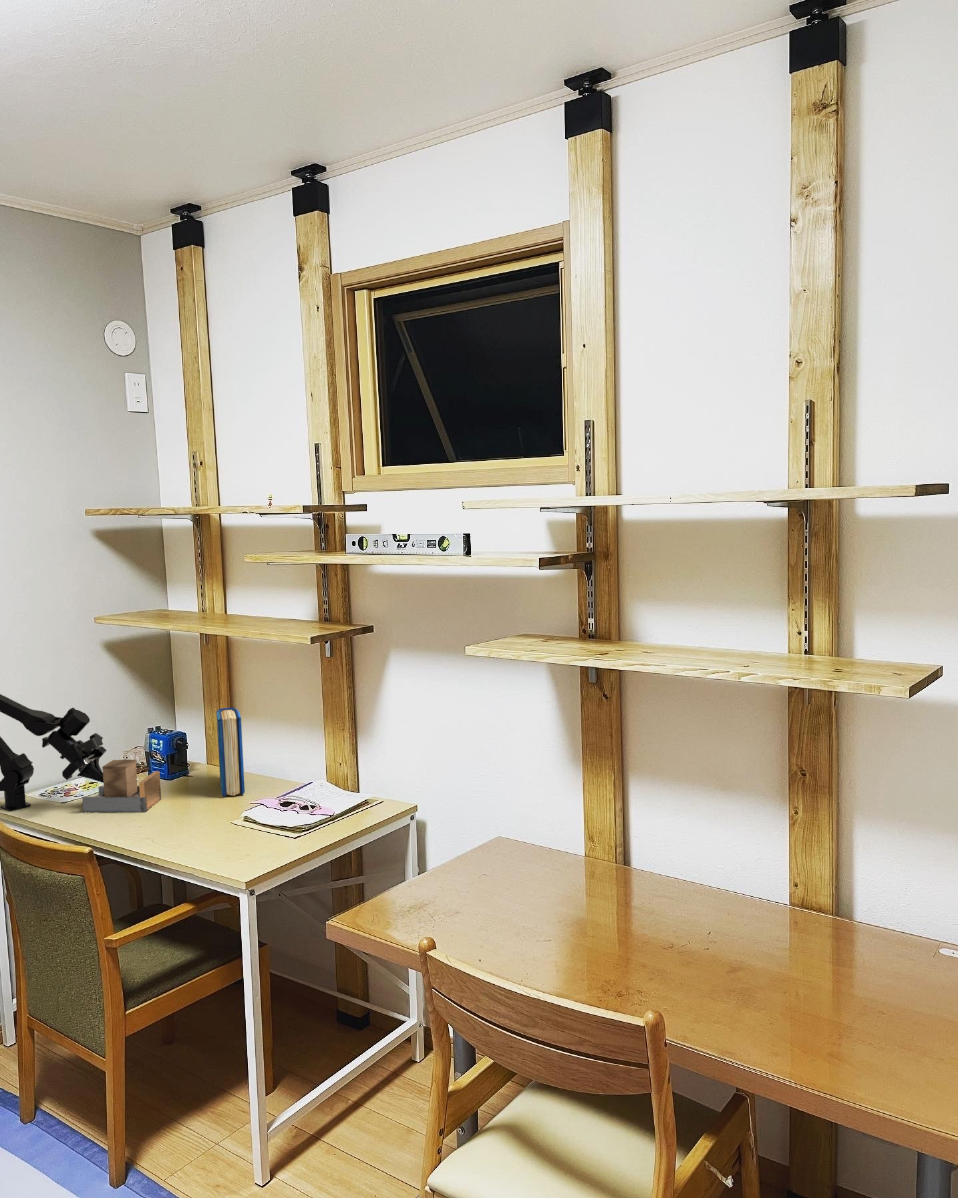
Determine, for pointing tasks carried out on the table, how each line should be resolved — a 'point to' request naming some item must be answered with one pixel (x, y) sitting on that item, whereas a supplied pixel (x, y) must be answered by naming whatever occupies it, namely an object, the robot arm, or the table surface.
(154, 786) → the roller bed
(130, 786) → the brown wooden block
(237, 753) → the book
